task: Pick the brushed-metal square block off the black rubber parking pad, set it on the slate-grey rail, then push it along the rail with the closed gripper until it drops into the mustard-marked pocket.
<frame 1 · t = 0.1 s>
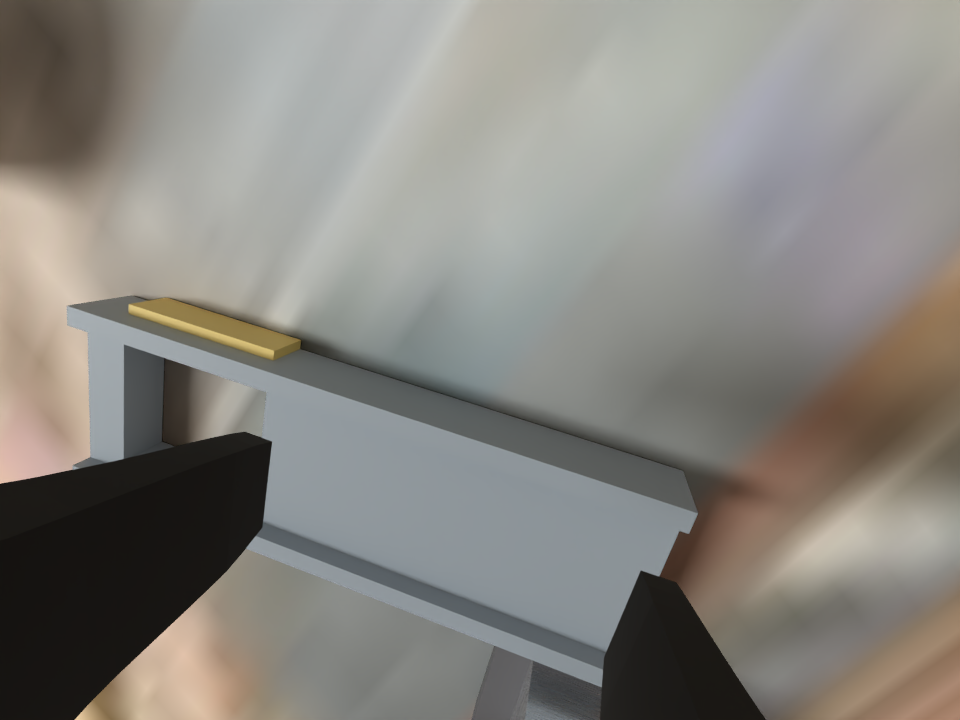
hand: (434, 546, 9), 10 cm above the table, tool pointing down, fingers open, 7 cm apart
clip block: (568, 706, 20), point 1 cm above the table, touching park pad
rail: (367, 460, 21), on the table
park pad: (569, 674, 22), on the table
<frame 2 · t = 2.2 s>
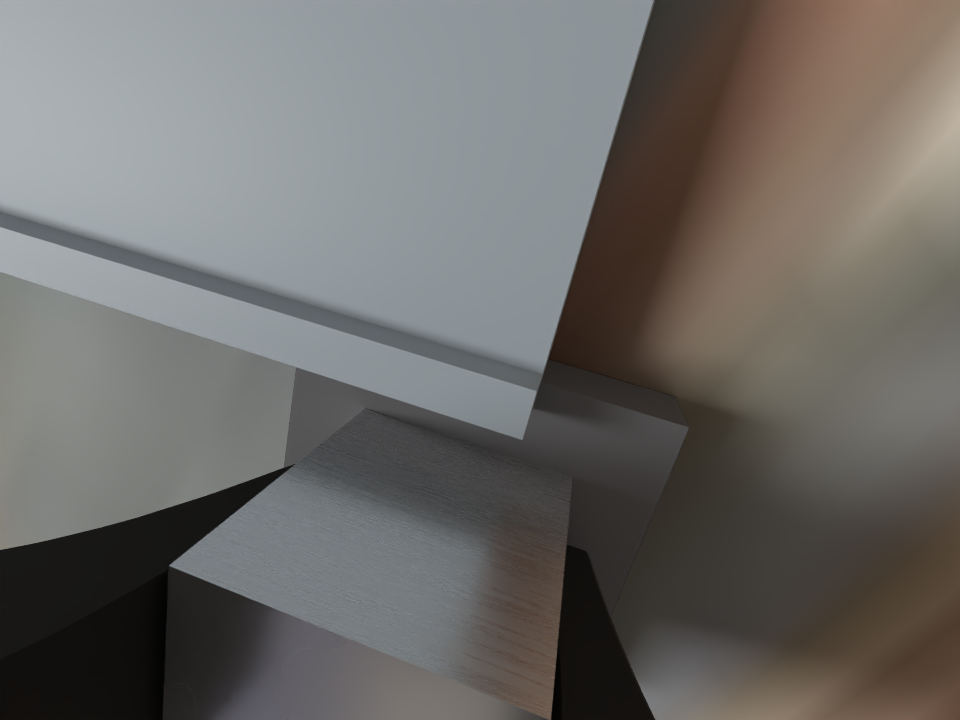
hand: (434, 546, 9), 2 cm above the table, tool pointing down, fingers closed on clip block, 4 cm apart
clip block: (442, 530, 10), point 1 cm above the table, touching gripper, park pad
rail: (45, 44, 10), on the table
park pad: (462, 490, 11), on the table
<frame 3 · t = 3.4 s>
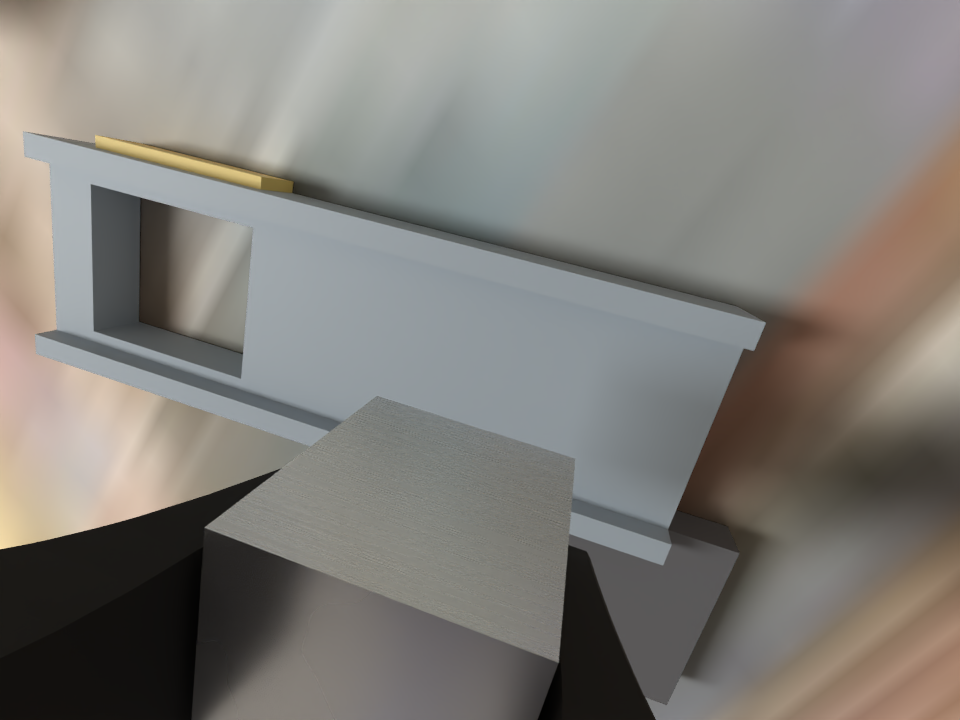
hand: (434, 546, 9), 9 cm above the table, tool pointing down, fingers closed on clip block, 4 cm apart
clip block: (451, 513, 10), point 8 cm above the table, touching gripper
rail: (369, 324, 18), on the table
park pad: (601, 571, 19), on the table
when the fingers open (4 cm above the table, at t = 4.7 s): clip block drops 1 cm, resting on rail.
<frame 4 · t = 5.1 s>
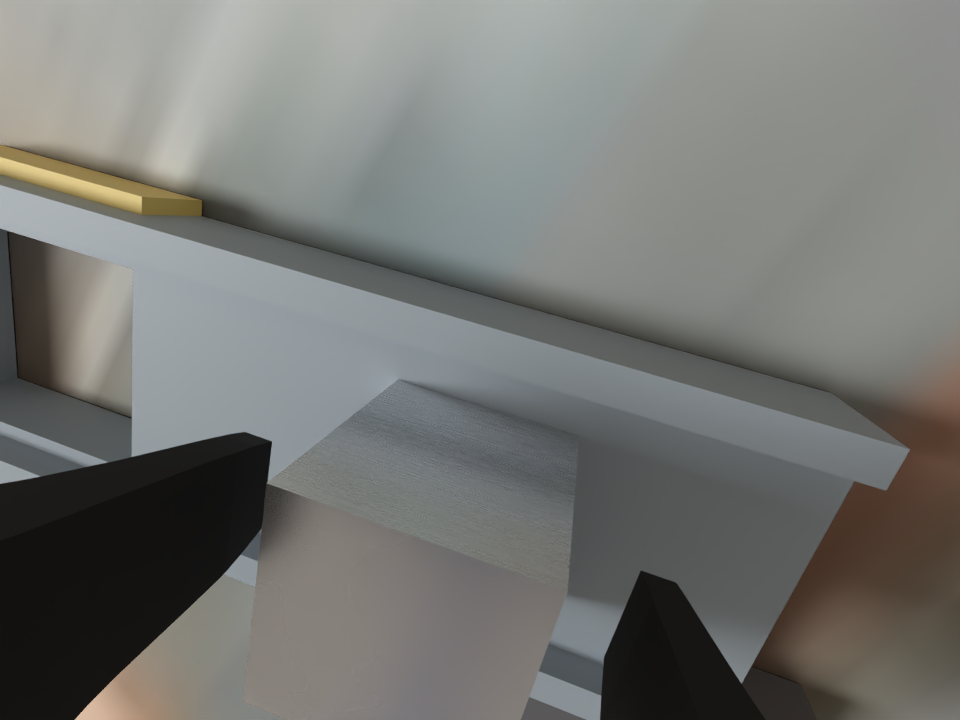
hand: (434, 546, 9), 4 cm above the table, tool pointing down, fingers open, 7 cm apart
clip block: (465, 486, 11), point 2 cm above the table, touching rail
rail: (310, 395, 14), on the table
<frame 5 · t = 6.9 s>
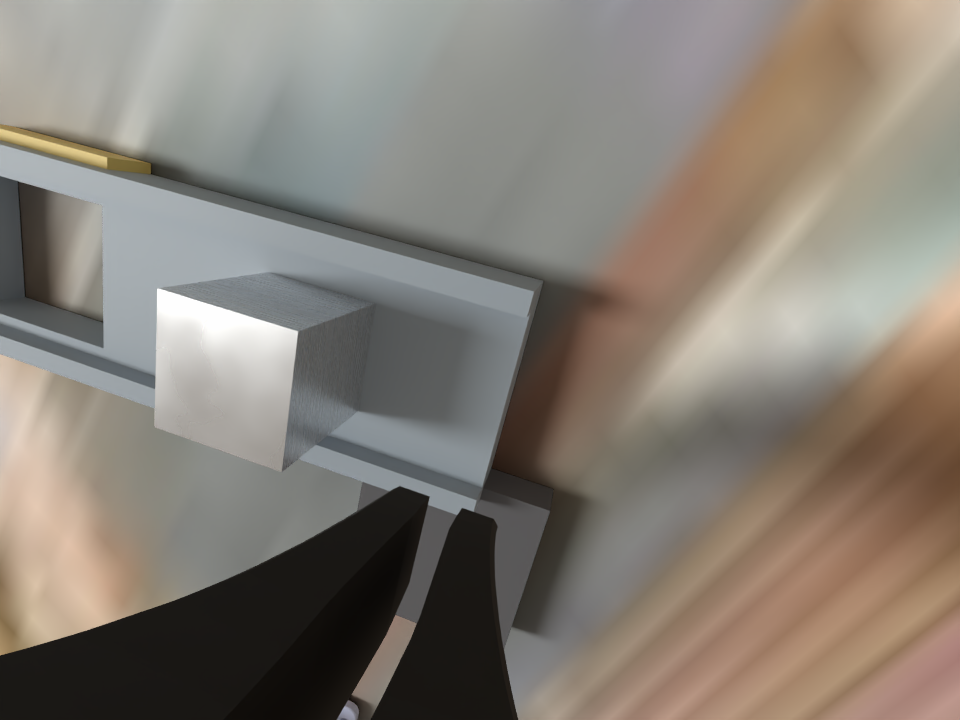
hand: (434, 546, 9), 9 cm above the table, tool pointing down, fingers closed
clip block: (314, 343, 17), point 2 cm above the table, touching rail
rail: (228, 299, 20), on the table
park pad: (448, 532, 20), on the table
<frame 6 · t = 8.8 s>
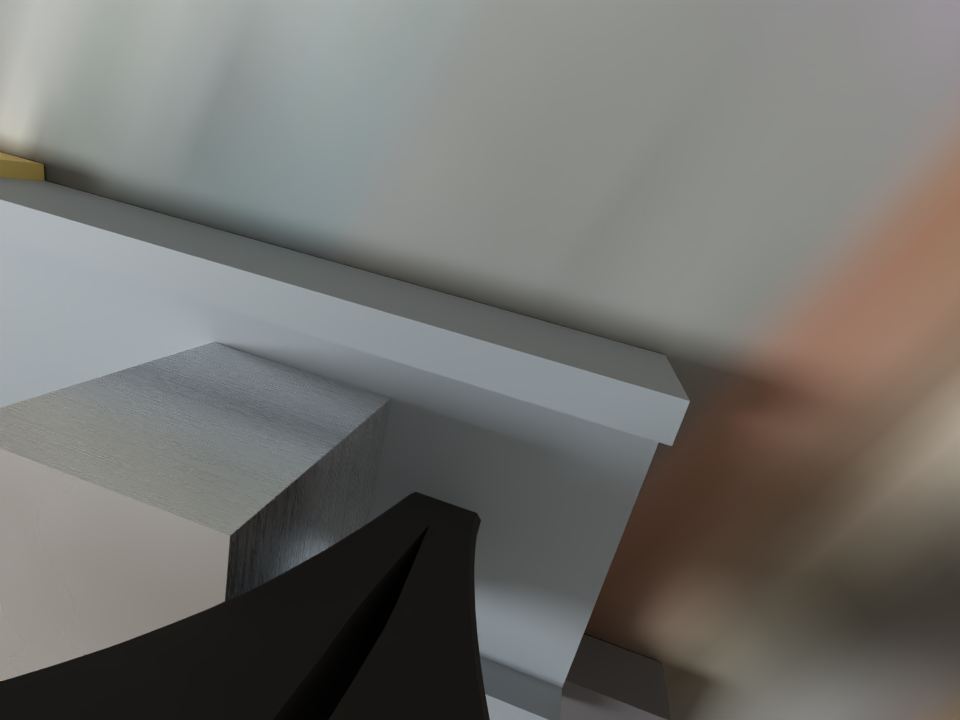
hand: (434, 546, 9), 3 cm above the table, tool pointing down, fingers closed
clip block: (290, 454, 10), point 2 cm above the table, touching gripper, rail
rail: (166, 367, 13), on the table
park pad: (493, 707, 14), on the table
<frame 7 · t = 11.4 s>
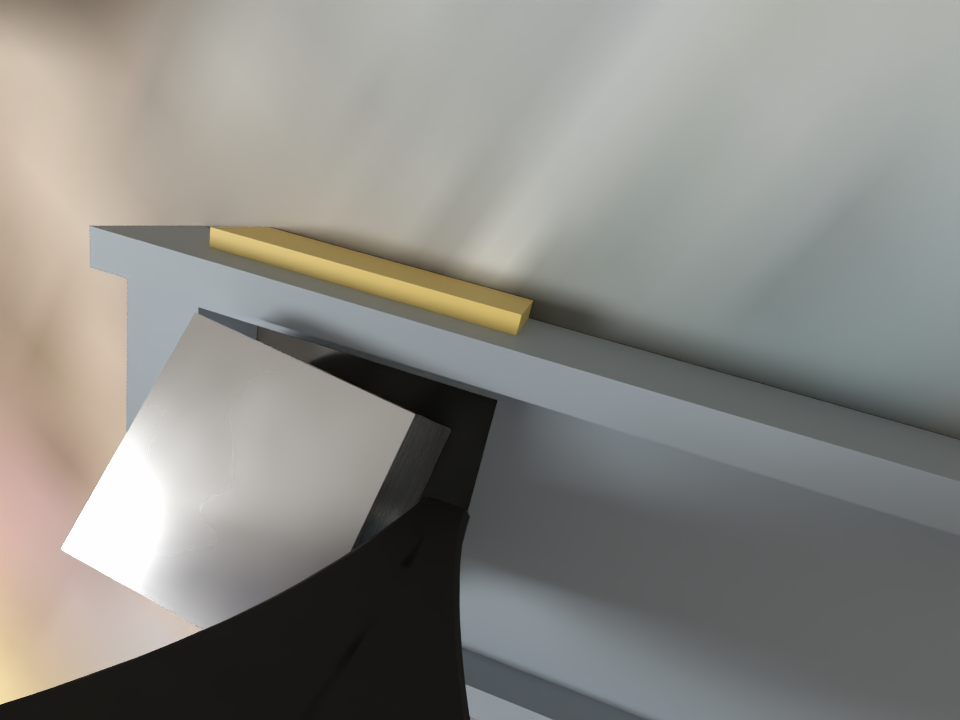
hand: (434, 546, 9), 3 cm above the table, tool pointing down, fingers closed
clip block: (341, 471, 12), point 1 cm above the table, tilted 28°, touching gripper
rail: (638, 524, 11), on the table
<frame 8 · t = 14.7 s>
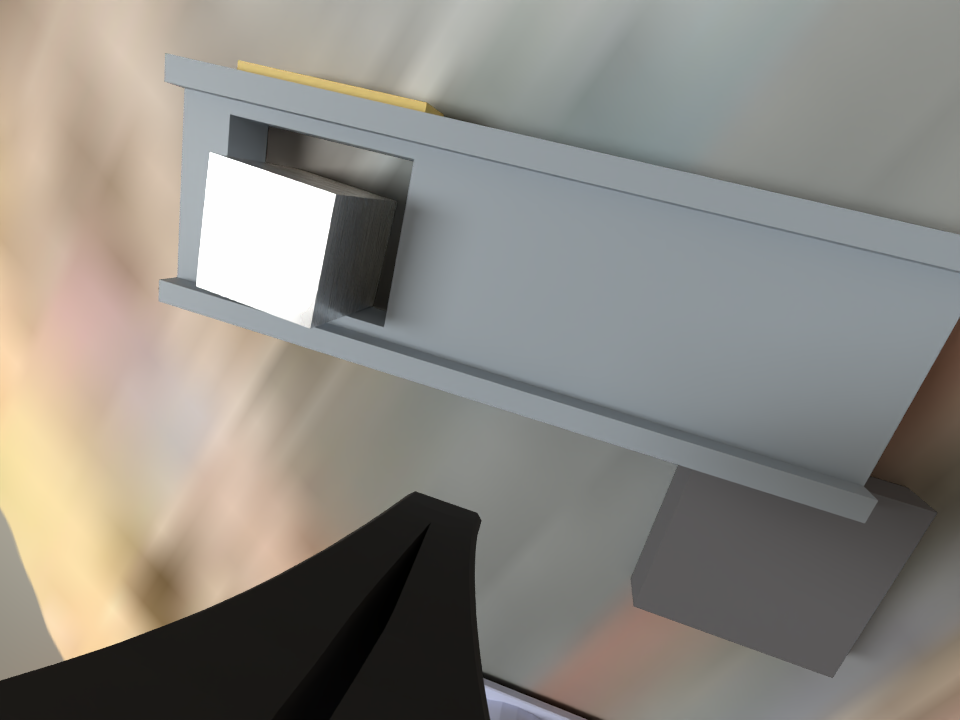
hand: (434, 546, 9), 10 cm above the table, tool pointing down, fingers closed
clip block: (337, 238, 19), resting in rail
rail: (517, 272, 17), on the table
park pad: (756, 537, 18), on the table
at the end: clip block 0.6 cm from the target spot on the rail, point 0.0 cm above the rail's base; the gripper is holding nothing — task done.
